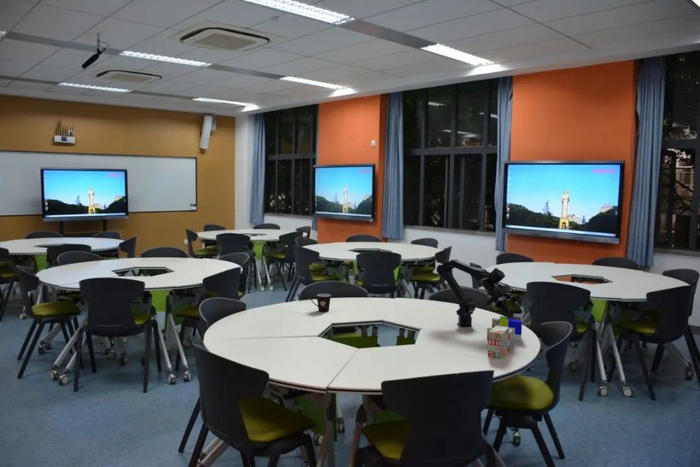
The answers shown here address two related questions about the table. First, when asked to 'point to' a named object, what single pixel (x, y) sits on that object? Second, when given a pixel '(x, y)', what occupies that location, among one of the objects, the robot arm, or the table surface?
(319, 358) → the table surface
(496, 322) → the numbered block 1
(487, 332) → the numbered block 2
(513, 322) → the puzzle toy
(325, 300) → the coffee mug
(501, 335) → the stack of blocks
